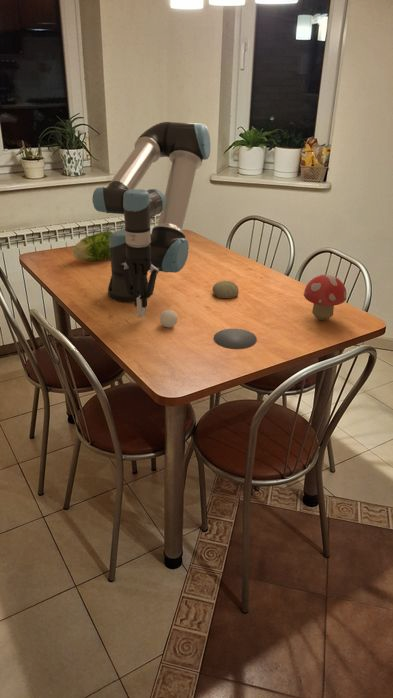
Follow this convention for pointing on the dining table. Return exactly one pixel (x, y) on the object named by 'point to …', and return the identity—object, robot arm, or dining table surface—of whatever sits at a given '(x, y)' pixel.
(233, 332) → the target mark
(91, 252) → the lettuce
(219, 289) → the sea urchin shell
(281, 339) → the dining table surface
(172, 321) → the ball
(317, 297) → the decorative mushroom
